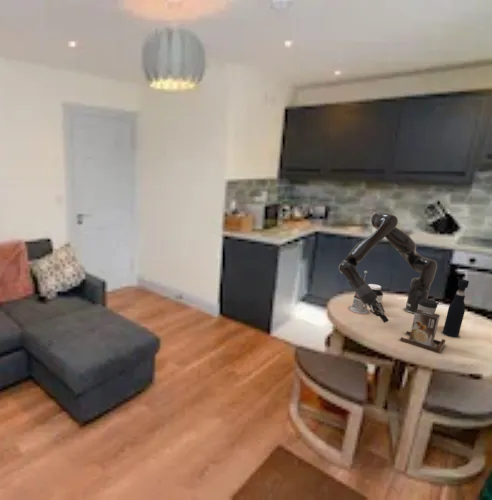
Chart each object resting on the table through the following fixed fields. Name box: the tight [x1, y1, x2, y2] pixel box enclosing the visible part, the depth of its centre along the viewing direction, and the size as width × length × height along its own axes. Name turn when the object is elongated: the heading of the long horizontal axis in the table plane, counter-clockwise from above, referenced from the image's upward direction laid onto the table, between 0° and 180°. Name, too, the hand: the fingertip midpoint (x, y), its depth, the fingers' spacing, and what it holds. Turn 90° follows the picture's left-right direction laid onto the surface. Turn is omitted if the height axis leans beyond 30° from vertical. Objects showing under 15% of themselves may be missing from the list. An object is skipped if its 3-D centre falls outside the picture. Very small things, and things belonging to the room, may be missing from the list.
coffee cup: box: [417, 298, 438, 314], centre depth 198 cm, size 8×8×15 cm
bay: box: [400, 330, 446, 354], centre depth 182 cm, size 11×16×3 cm
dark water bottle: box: [442, 278, 470, 338], centre depth 187 cm, size 6×6×30 cm
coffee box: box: [408, 309, 441, 347], centre depth 180 cm, size 9×6×16 cm
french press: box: [349, 270, 369, 315], centre depth 215 cm, size 10×12×25 cm
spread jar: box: [360, 283, 384, 304], centre depth 229 cm, size 12×11×12 cm
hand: (386, 321), depth 193 cm, fingers closed
